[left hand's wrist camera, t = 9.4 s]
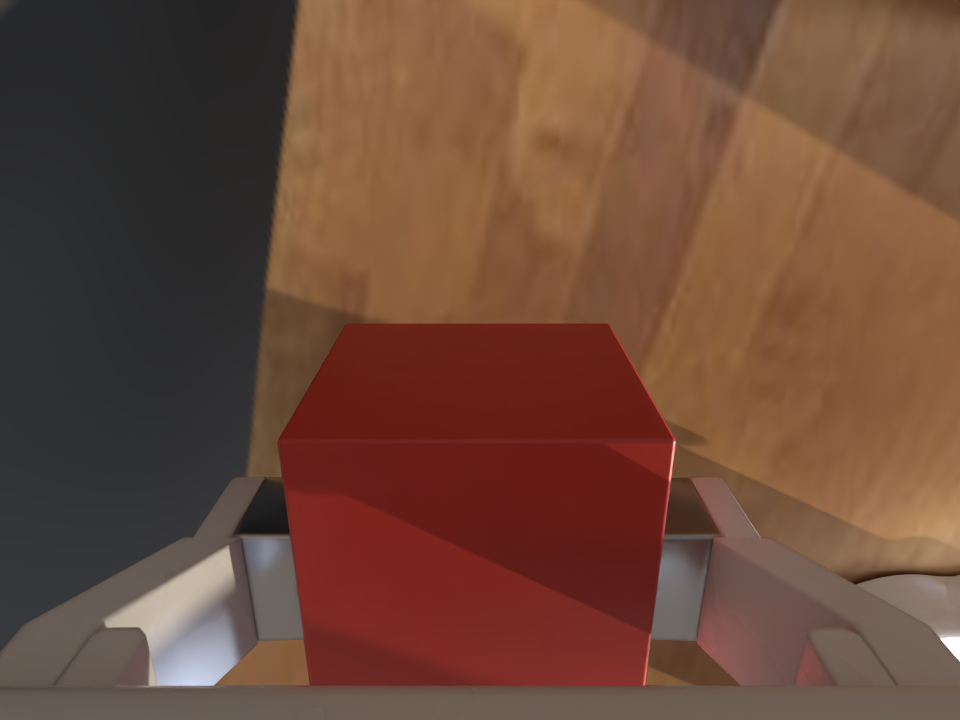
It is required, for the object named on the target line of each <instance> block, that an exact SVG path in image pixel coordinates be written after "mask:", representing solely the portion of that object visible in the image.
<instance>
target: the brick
mask: <svg viewBox="0 0 960 720" xmlns="http://www.w3.org/2000/svg"><path fill="white" fill-rule="evenodd" d="M675 445H676V441H675V438H674V436H673V435H672V433H671V431H670V429H669V428H668V426H667V424H666V422H665V421H664V419H663V417H662V415H661V414H660V412H659V410H658V408H657V407H656V405H655V403H654V401H653V400H652V398H651V396H650V394H649V393H648V391H647V389H646V387H645V386H644V384H643V382H642V380H641V379H640V377H639V375H638V373H637V372H636V370H635V368H634V366H633V365H632V363H631V361H630V359H629V358H628V356H627V354H626V352H625V351H624V349H623V347H622V345H621V344H620V342H619V340H618V338H617V337H616V335H615V333H614V331H613V330H612V328H611V326H610V325H609V324H346V325H345V326H344V328H343V330H342V332H341V333H340V335H339V337H338V338H337V340H336V342H335V344H334V345H333V347H332V349H331V350H330V352H329V354H328V356H327V357H326V359H325V361H324V362H323V364H322V366H321V368H320V369H319V371H318V373H317V374H316V376H315V378H314V380H313V381H312V383H311V385H310V386H309V388H308V390H307V391H306V393H305V395H304V397H303V398H302V400H301V402H300V403H299V405H298V407H297V409H296V410H295V412H294V414H293V415H292V417H291V419H290V421H289V422H288V424H287V426H286V427H285V429H284V431H283V433H282V434H281V436H280V438H279V440H278V448H279V456H280V463H281V471H282V479H283V486H284V494H285V501H286V509H287V516H288V524H289V532H290V539H291V547H292V554H293V562H294V569H295V577H296V585H297V592H298V600H299V607H300V615H301V622H302V630H303V638H304V645H305V653H306V660H307V668H308V675H309V683H310V686H645V680H646V672H647V664H648V657H649V649H650V641H651V633H652V625H653V617H654V610H655V602H656V594H657V586H658V578H659V570H660V563H661V555H662V547H663V539H664V531H665V523H666V515H667V508H668V500H669V492H670V484H671V476H672V468H673V461H674V453H675Z"/></svg>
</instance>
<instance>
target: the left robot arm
mask: <svg viewBox="0 0 960 720" xmlns="http://www.w3.org/2000/svg"><path fill="white" fill-rule="evenodd" d="M302 639H304V638H303V630H302V622H301V615H300V607H299V600H298V592H297V585H296V577H295V569H294V562H293V554H292V547H291V539H290V532H289V524H288V516H287V509H286V501H285V494H284V486H283V479H282V478H280V477H268V478H266V477H237V478H234V479H232V480H231V481H230V482H229V484H228V485H227V487H226V488H225V490H224V491H223V493H222V494H221V496H220V497H219V499H218V500H217V502H216V503H215V505H214V506H213V508H212V509H211V511H210V512H209V514H208V516H207V517H206V519H205V520H204V522H203V523H202V525H201V526H200V528H199V529H198V531H197V532H196V534H195V535H194V537H193V538H182V539H180V540H178V541H176V542H174V543H173V544H171V545H169V546H167V547H165V548H163V549H162V550H160V551H158V552H156V553H154V554H152V555H151V556H149V557H147V558H145V559H143V560H141V561H140V562H138V563H136V564H134V565H132V566H130V567H129V568H127V569H125V570H123V571H121V572H120V573H118V574H116V575H114V576H112V577H110V578H108V579H107V580H105V581H103V582H101V583H99V584H98V585H96V586H94V587H92V588H90V589H88V590H86V591H85V592H83V593H81V594H79V595H77V596H76V597H74V598H72V599H70V600H68V601H66V602H65V603H63V604H61V605H59V606H57V607H55V608H54V609H52V610H50V611H48V612H46V613H44V614H43V615H41V616H39V617H37V618H35V619H33V620H32V621H30V622H28V623H26V624H24V625H23V626H22V627H21V629H20V630H19V631H18V632H17V633H16V634H15V636H14V637H13V638H12V639H11V640H10V641H9V642H8V644H7V645H6V646H5V647H4V648H3V649H2V650H1V652H0V720H960V575H957V576H931V575H918V574H905V575H894V576H886V577H881V578H876V579H872V580H868V581H865V582H862V583H859V584H856V585H855V584H853V583H851V582H850V581H848V580H846V579H844V578H842V577H841V576H839V575H837V574H835V573H833V572H832V571H830V570H828V569H826V568H824V567H823V566H821V565H819V564H817V563H815V562H813V561H812V560H810V559H808V558H806V557H804V556H803V555H801V554H799V553H797V552H795V551H794V550H792V549H790V548H788V547H786V546H785V545H783V544H781V543H779V542H777V541H775V540H774V539H772V538H761V537H760V536H759V534H758V533H757V531H756V530H755V528H754V527H753V525H752V524H751V522H750V521H749V519H748V517H747V516H746V514H745V513H744V511H743V510H742V508H741V507H740V505H739V504H738V502H737V501H736V499H735V498H734V496H733V494H732V493H731V491H730V490H729V488H728V487H727V485H726V484H725V482H724V481H723V479H721V478H719V477H694V478H671V484H670V492H669V500H668V508H667V515H666V523H665V531H664V539H663V547H662V555H661V563H660V570H659V578H658V586H657V594H656V602H655V610H654V617H653V625H652V633H651V640H687V641H697V642H696V644H697V645H699V646H700V647H701V648H702V649H703V650H704V651H705V652H706V653H707V654H708V655H709V656H710V657H711V658H712V659H713V660H714V661H715V662H716V663H717V664H718V665H719V666H720V667H721V668H722V669H724V670H725V671H726V672H727V673H728V674H729V675H730V676H731V677H732V678H733V679H734V680H735V681H736V682H737V683H738V684H739V685H740V686H214V685H215V684H216V683H217V682H218V681H219V680H220V679H221V678H222V677H223V676H224V675H225V674H226V673H227V672H228V671H230V670H231V669H232V668H233V667H234V666H235V665H236V664H237V663H238V662H239V661H240V660H241V659H242V658H243V657H244V656H245V655H246V654H247V653H249V652H250V651H251V650H252V649H253V648H254V647H255V646H256V645H257V641H267V640H302Z"/></svg>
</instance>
